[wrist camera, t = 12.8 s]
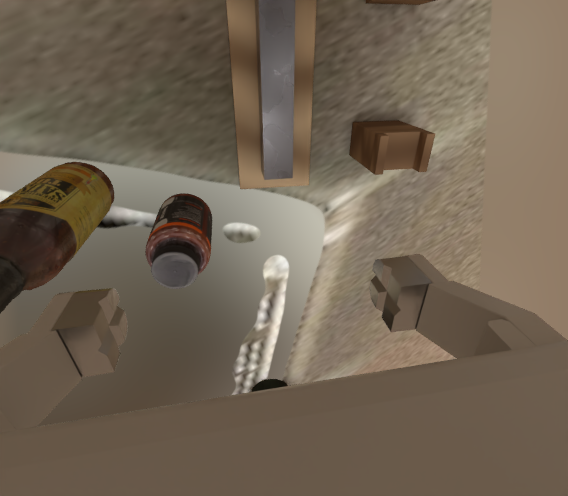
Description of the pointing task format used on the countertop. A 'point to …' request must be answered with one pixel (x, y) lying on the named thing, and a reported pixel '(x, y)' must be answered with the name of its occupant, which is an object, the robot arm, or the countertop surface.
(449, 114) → the countertop surface
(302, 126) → the wooden plank
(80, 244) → the sauce bottle
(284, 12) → the rail
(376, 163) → the post
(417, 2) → the post
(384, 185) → the countertop surface
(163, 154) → the countertop surface
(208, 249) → the supplement bottle
